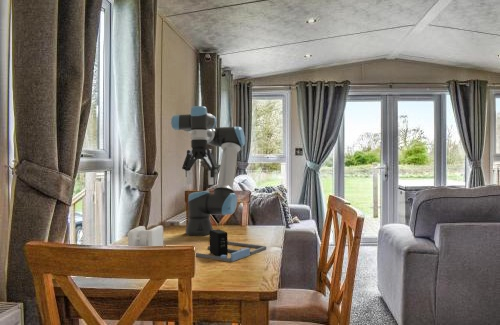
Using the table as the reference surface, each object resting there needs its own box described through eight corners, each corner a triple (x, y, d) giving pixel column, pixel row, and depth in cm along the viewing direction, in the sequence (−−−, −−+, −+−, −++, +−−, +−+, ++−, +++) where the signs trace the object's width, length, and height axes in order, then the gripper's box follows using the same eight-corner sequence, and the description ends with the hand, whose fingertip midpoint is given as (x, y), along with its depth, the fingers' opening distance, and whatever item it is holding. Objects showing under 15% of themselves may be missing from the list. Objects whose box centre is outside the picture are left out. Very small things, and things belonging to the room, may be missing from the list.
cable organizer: (151, 259, 157) (151, 230, 157) (126, 259, 158) (126, 230, 159) (164, 251, 172) (163, 224, 172) (141, 250, 173) (140, 224, 173)
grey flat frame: (226, 243, 186) (226, 237, 186) (267, 248, 173) (267, 242, 173) (187, 255, 163) (187, 248, 163) (230, 262, 150) (230, 254, 150)
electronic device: (218, 257, 158) (218, 233, 158) (209, 253, 167) (209, 229, 167) (227, 256, 160) (227, 232, 160) (218, 251, 169) (218, 228, 169)
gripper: (174, 140, 186) (175, 184, 186) (214, 137, 173) (215, 185, 172) (185, 140, 193) (185, 183, 193) (225, 138, 179) (225, 184, 179)
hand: (199, 184), depth 183 cm, fingers open, 13 cm apart
